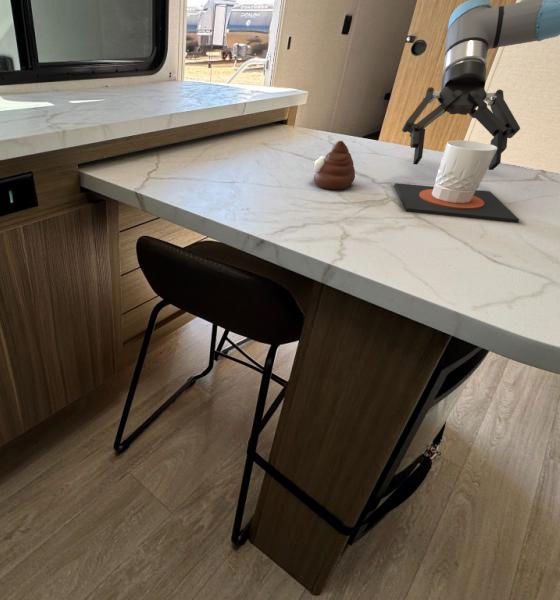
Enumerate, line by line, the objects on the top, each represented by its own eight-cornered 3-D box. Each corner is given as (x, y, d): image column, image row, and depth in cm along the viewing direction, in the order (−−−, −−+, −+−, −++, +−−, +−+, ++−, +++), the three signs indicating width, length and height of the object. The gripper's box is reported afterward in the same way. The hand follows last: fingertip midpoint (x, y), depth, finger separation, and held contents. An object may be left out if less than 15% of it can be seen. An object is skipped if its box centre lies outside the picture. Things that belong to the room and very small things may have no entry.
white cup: (473, 195, 83) (496, 143, 77) (475, 207, 77) (499, 152, 72) (429, 188, 86) (447, 138, 81) (427, 200, 80) (446, 146, 75)
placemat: (488, 194, 86) (490, 189, 86) (518, 222, 73) (520, 217, 73) (394, 185, 91) (395, 181, 90) (405, 211, 78) (407, 206, 78)
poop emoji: (346, 193, 86) (358, 147, 81) (305, 186, 90) (314, 142, 85) (356, 181, 93) (368, 137, 88) (318, 175, 97) (327, 133, 92)
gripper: (522, 87, 87) (516, 178, 83) (393, 83, 94) (382, 168, 90) (546, 59, 80) (541, 158, 76) (404, 57, 86) (393, 148, 83)
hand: (455, 163), depth 83 cm, fingers open, 13 cm apart
